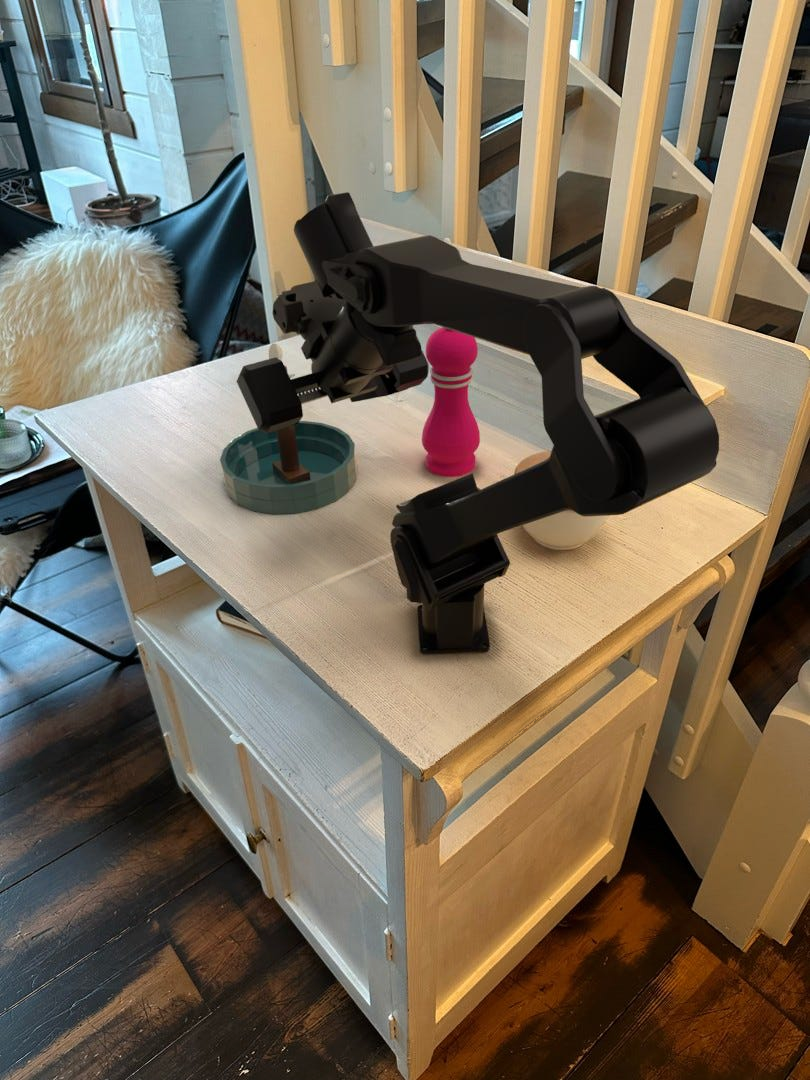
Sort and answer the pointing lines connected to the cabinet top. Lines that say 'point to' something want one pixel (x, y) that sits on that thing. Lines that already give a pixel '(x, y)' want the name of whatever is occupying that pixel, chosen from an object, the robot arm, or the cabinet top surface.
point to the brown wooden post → (289, 458)
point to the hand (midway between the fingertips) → (314, 409)
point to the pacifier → (277, 354)
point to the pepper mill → (451, 404)
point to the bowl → (318, 452)
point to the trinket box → (560, 520)
